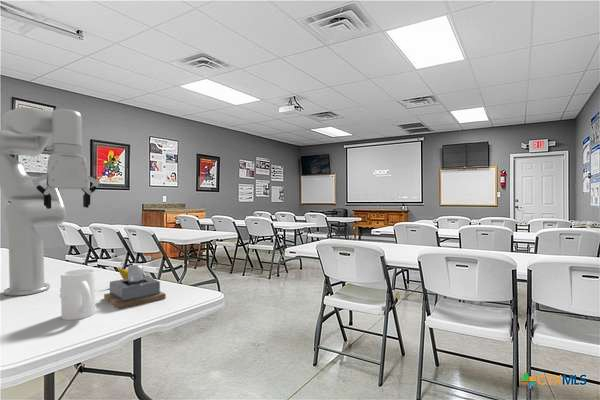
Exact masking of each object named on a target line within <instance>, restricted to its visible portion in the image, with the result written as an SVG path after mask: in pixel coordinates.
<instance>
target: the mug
mask: <svg viewBox="0 0 600 400" xmlns="http://www.w3.org/2000/svg"><path fill="white" fill-rule="evenodd" d="M95 274H96V273H95V269H87V268H86V269H85V268H84V269H74V270H69V271H64V272H62V273H61V274H60V289H59V298H60V300H61V301H60V303H61V304H60V305H61V307H60V308H61V309H60V310H61V318H62V320H64V321H65V320H66V321H75V320H81V319H85V318H89V317H92V316H93V315H94V314H95V313H96V281H95V280H96V278H95V277H96V275H95Z"/></svg>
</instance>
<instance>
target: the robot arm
mask: <svg viewBox="0 0 600 400" xmlns="http://www.w3.org/2000/svg"><path fill="white" fill-rule="evenodd" d="M1 120H2V121H1V122H2V124H3V126H4V127H5V128H6V129H7V130H3V129H0V190H1V194H2V195H3V198H4V199H5V200H7V202H9V203H8V204H7V205H6V206H5V207H4V210H3V213H4V214H3V217H4V220H5V224H6V229H7V239H8V273H9V278H8V279H9V287H8V288H5V289H4V290H3V295H5V296H9V297H10V296H11V297H13V296H14V297H16V296H17V297H18V296H26V295H32V294H36V293H37V294H38V293H41V292H44V291H46V290H49V289H50V287H51V286H50V285H51V284H50V283H48V282H45V260H44V259H45V252H44V238H43V236H42V235H41V234H40V232H38V231H37V229H36V228H40V227H52V226H53V227H54V226H60V225H62V224H63V223H64V222H65V221H66V218H67V209H66V206H65V203H64V201H63V198H62V196H61V193H60V191H59V189H60V190H61V189H63V190H64V189H65V190H67V189H69V190H72V189H74V190H77V189H80V190H81V191H82V192H83V193H84V194H83V195H82V203H83V204H82V207H83V208H87V209H88V208H90V207H89V206H90V205H91V195H92V194H93V193H94V192H95V191H96V190H97V188H98V187H99V185H100V180H99V179H96V178H94V177H93V176H91V175H89V173H88V164H87V159H86V156H83V121H82V120H83V118H82V114H81V113H80V111H77V110H74V109H68V108H56V109H54V110H53V111H51V110H45V109H41V108H40V109H39V108H34V107H20V106H19V107H16V108H15V109H9V110H8V111H6V112H5V113H4V115H2V119H1ZM50 140H51V145H48V143H49V141H50ZM45 149H46V151H49V152H50V153H51V154H49V157H48V161H47V167H46V173H45V174H42V175H40V176H33V175H29V174H28V173H27V171H26V168H25V167H24V165H23V164H22V163H21V162H20V161H19V160H17V159H16V158H15V157H13V156H11V155H16V156H28V157H30V156H31V157H33V156H34V157H35V156H40V155H41V154H42V153H43V152H44V151H45ZM90 182H91V183H92V186H90V187H89V183H90Z"/></svg>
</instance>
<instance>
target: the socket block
mask: <svg viewBox="0 0 600 400" xmlns="http://www.w3.org/2000/svg"><path fill="white" fill-rule="evenodd" d="M160 283H161V282H160V281H159V280H157V279H154V278H152V277H150V276H147V275H143V283H139V284H133V285H128V279H123V278H122V279H118V280H112V281H111V280H110V281H109V293H110V294H111V295H112V296H114V297H115V298H117V299H118V300H120V301H122V302H124V301H129V300H134V299H138V298H143V297H148V296H152V295H157V294H160V291H161V290H160V289H161V284H160Z"/></svg>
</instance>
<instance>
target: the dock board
mask: <svg viewBox="0 0 600 400" xmlns="http://www.w3.org/2000/svg"><path fill="white" fill-rule="evenodd" d="M166 294H167V293H164V292H162V291H161V290H160V294H157V295H152V296H148V297H143V298H138V299H134V300H129V301H124V302H122V301H120V300H118V299H117V298H115V297H114V296H112V295H111V294H110V292H108V293H104V295H103V299H104V300H106V302H109V303H110V305H113V306H114V307H115V308H117V309H118V310H121V309H124V308H129V307H134V306H139V305H143V304H149V303H151V302H157V301H160V300H165V299H166Z"/></svg>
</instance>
